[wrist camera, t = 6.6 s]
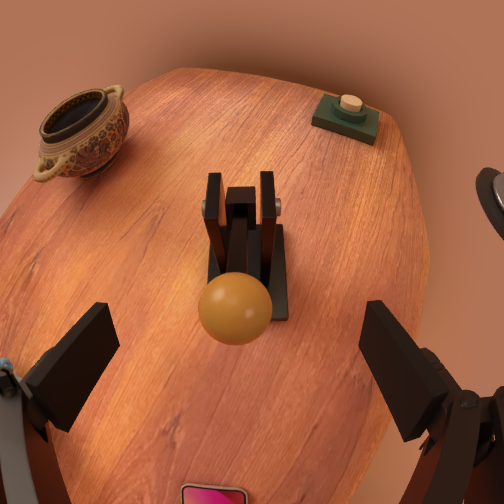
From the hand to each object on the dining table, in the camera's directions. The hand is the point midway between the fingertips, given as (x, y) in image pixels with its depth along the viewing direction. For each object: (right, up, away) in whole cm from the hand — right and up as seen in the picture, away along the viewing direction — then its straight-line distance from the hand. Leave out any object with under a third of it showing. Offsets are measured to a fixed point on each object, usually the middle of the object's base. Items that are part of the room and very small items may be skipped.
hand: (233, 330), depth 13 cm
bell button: (+19, +31, +30) cm, 47 cm away
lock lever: (0, +3, +5) cm, 6 cm away
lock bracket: (0, +1, +20) cm, 20 cm away
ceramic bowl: (-28, +21, +31) cm, 46 cm away
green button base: (+19, +29, +34) cm, 48 cm away
